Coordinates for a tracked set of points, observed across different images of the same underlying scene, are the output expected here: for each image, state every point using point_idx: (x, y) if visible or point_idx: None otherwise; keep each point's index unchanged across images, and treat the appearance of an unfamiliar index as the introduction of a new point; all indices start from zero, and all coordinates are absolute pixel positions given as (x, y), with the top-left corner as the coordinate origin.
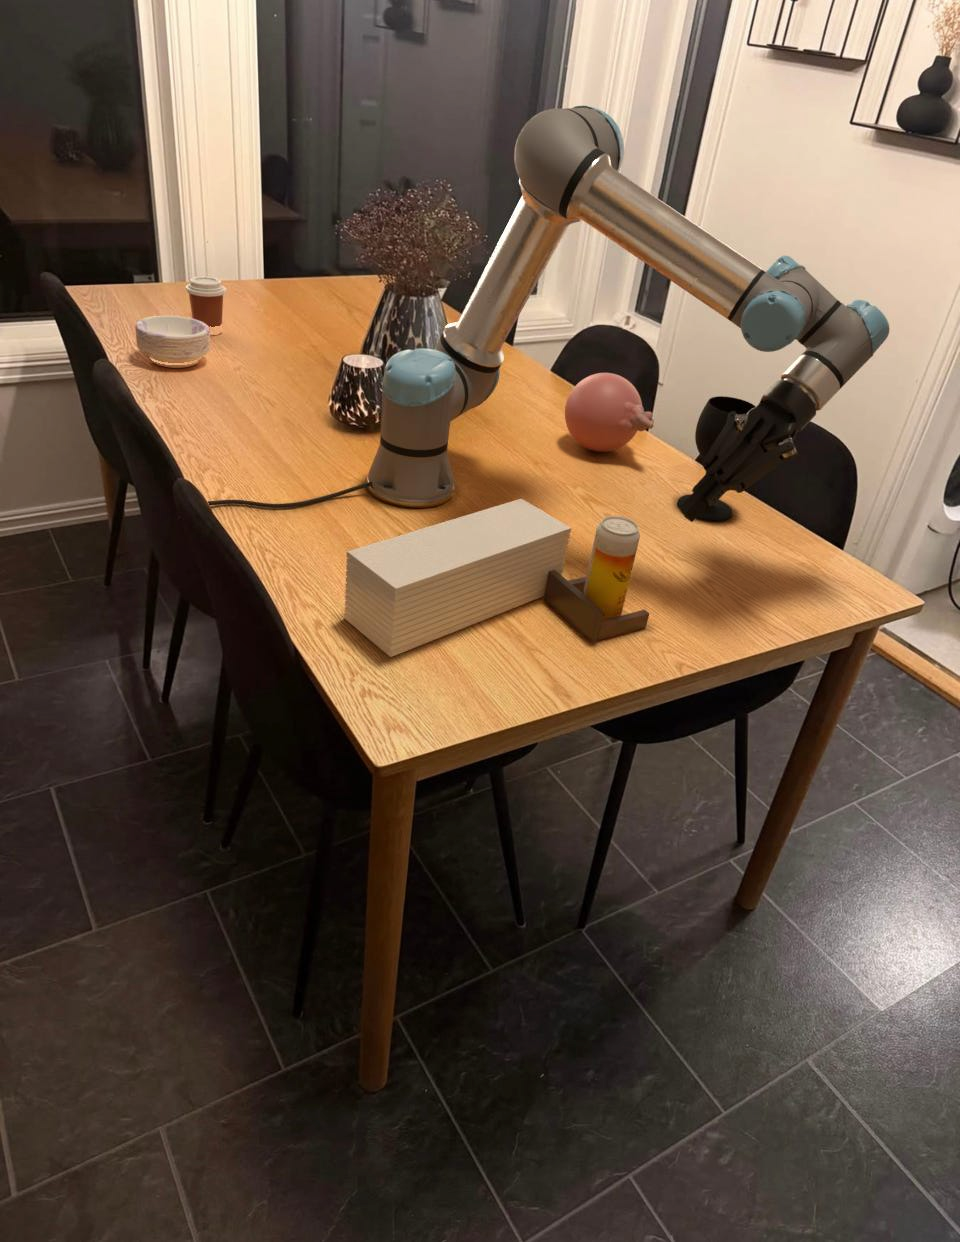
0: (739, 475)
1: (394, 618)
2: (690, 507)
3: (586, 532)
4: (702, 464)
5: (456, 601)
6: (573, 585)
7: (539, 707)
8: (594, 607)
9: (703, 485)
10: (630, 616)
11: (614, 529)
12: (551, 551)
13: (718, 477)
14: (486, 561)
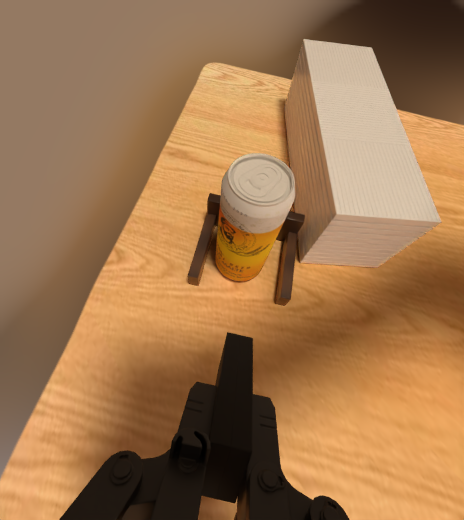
0: (104, 511)
1: (294, 72)
2: (225, 344)
3: (415, 421)
4: (330, 500)
5: (298, 120)
6: (285, 253)
7: (177, 133)
8: (219, 198)
9: (241, 406)
10: (198, 252)
11: (257, 166)
12: (320, 205)
13: (201, 440)
14: (313, 109)
